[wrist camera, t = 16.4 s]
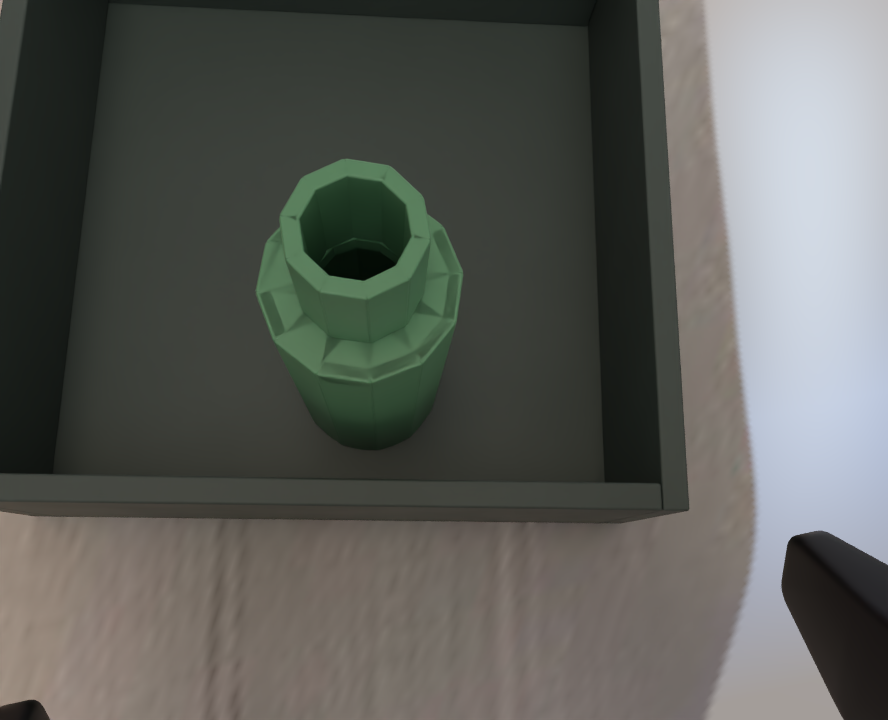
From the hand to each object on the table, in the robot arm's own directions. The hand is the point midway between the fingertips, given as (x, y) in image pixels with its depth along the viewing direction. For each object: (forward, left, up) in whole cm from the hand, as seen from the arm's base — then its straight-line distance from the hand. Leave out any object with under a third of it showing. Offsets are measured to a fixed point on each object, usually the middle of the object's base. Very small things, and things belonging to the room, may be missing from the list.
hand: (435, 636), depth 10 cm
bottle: (+5, -3, -13) cm, 14 cm away
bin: (+9, -6, -13) cm, 17 cm away
